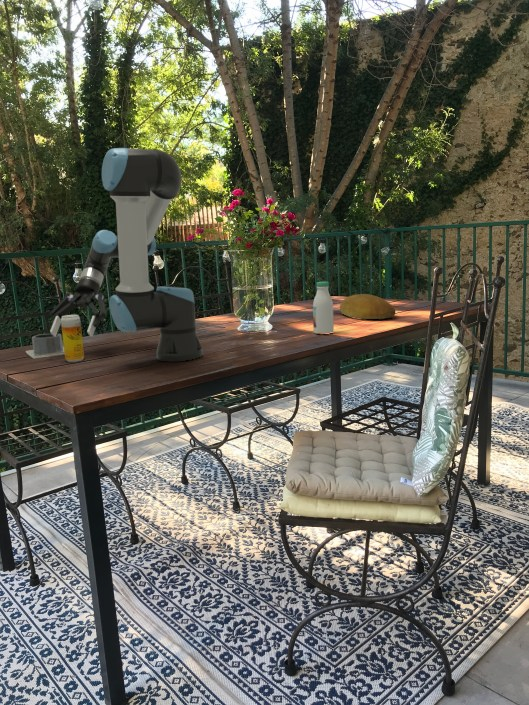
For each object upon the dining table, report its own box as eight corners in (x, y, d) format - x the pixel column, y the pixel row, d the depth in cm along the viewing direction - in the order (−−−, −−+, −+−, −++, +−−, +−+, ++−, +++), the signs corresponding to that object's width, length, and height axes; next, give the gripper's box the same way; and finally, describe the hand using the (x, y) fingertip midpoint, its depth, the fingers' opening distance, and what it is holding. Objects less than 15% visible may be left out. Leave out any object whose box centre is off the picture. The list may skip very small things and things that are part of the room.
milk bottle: (336, 332, 225) (336, 281, 221) (328, 335, 219) (327, 282, 215) (319, 331, 229) (318, 280, 225) (310, 334, 223) (308, 282, 219)
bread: (361, 310, 284) (361, 290, 282) (404, 319, 253) (404, 296, 250) (328, 314, 278) (328, 293, 276) (367, 323, 246) (367, 299, 244)
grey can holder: (71, 353, 206) (70, 335, 204) (33, 358, 199) (31, 340, 197) (62, 348, 216) (60, 331, 215) (26, 352, 210) (23, 335, 208)
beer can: (78, 362, 189) (73, 317, 186) (61, 362, 191) (56, 317, 188) (87, 358, 195) (83, 314, 192) (71, 358, 197) (66, 314, 194)
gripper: (126, 290, 203) (110, 340, 192) (62, 291, 209) (43, 340, 198) (118, 276, 197) (100, 327, 186) (52, 278, 203) (32, 327, 192)
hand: (71, 334), depth 192 cm, fingers open, 13 cm apart
